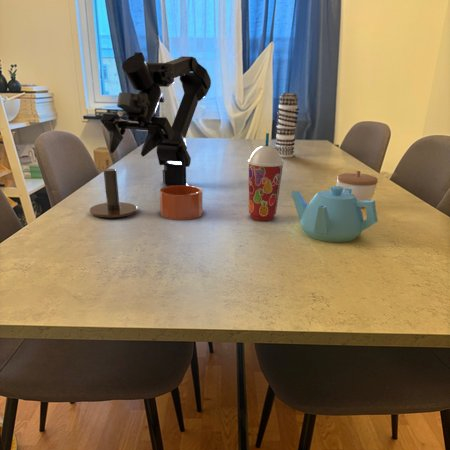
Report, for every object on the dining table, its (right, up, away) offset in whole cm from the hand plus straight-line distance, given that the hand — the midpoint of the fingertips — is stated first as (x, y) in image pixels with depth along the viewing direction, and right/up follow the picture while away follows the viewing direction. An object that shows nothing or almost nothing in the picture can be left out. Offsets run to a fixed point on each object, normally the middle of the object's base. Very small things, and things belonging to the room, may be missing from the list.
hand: (126, 153), depth 109 cm
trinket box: (+61, -11, +12) cm, 63 cm away
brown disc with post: (-3, -15, 0) cm, 15 cm away
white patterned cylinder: (+51, +27, +82) cm, 101 cm away
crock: (+14, -15, +1) cm, 21 cm away
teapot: (+49, -22, -10) cm, 55 cm away
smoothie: (+34, -17, 0) cm, 38 cm away
